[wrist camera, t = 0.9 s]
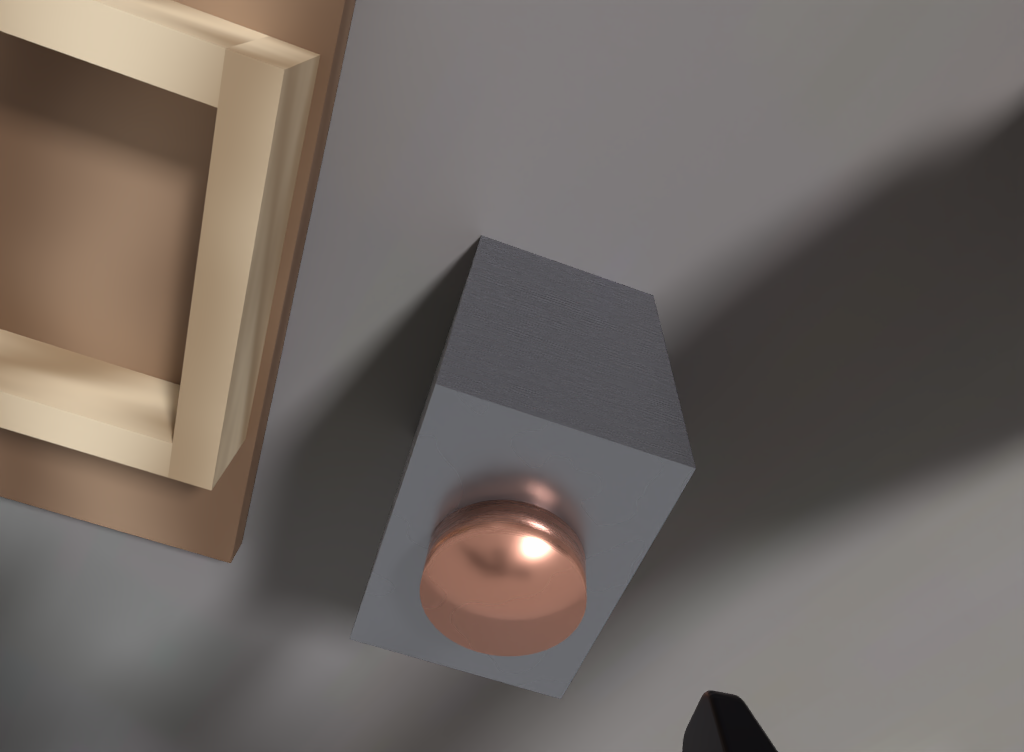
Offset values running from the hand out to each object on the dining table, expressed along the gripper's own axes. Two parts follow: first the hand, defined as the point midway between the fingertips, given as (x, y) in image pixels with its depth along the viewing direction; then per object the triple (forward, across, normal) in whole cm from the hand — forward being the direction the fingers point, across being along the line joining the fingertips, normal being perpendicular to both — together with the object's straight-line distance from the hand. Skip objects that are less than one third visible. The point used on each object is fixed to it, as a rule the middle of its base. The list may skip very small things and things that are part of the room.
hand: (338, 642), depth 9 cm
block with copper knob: (+13, -2, +3) cm, 14 cm away
